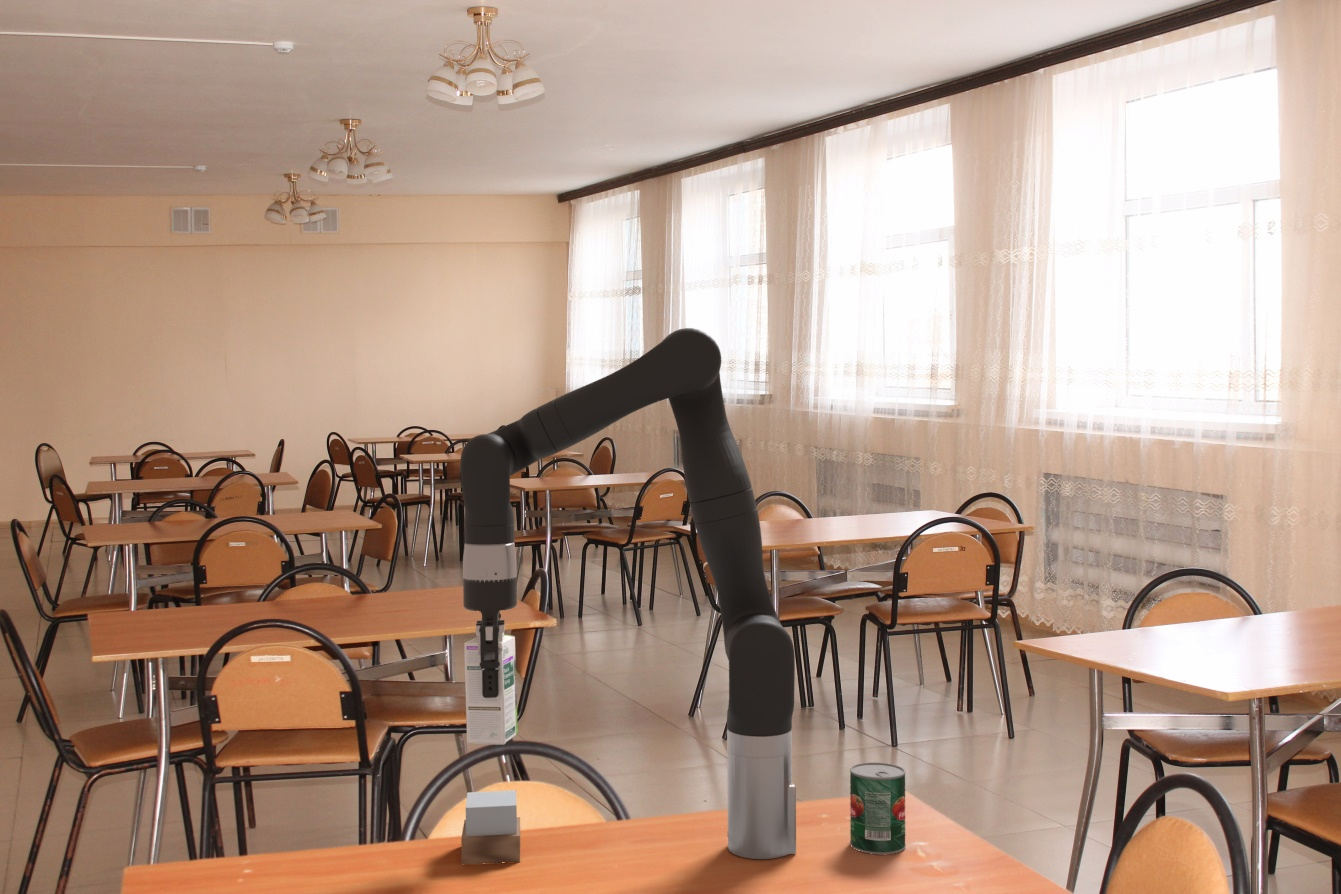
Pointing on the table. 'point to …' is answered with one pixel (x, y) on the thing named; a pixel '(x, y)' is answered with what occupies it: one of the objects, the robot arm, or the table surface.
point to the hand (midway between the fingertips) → (491, 691)
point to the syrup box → (491, 715)
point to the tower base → (490, 847)
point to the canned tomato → (877, 808)
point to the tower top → (491, 813)
